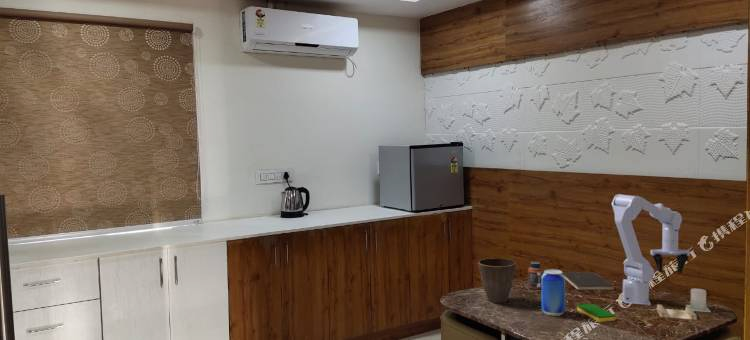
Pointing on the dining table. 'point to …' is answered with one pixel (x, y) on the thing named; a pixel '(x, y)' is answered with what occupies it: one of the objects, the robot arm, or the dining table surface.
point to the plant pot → (497, 278)
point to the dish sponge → (596, 312)
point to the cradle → (676, 313)
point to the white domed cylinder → (698, 299)
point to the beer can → (553, 292)
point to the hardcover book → (587, 281)
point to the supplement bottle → (535, 276)
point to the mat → (698, 310)
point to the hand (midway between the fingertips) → (669, 272)
